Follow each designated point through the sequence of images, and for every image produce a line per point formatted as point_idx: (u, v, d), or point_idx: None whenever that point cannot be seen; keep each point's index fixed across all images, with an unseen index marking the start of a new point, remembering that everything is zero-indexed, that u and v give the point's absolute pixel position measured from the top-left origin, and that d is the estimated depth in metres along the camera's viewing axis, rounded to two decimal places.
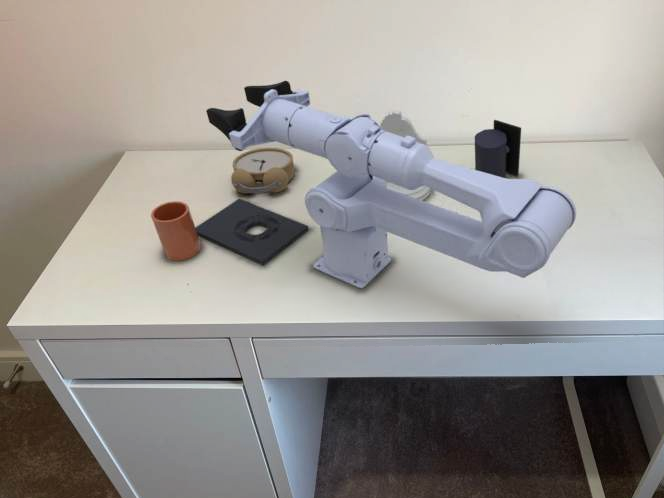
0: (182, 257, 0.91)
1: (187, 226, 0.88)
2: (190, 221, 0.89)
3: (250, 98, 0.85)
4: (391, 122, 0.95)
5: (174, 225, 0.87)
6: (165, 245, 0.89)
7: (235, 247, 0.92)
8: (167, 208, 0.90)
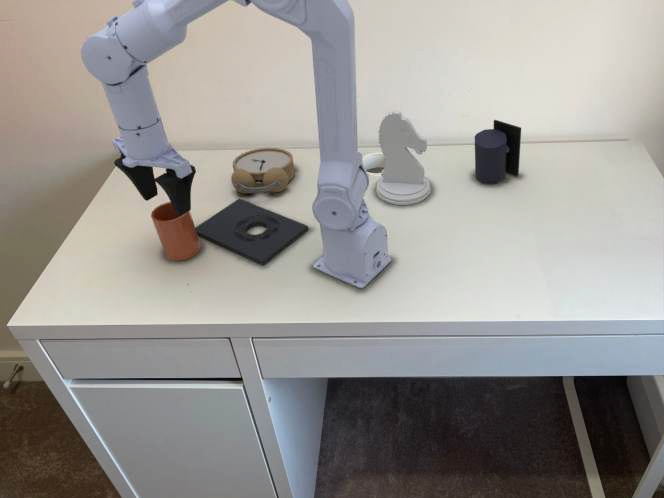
0: (182, 257, 0.91)
1: (187, 226, 0.88)
2: (190, 221, 0.89)
3: (153, 191, 0.88)
4: (391, 122, 0.95)
5: (174, 225, 0.87)
6: (165, 245, 0.89)
7: (235, 247, 0.92)
8: (167, 208, 0.90)
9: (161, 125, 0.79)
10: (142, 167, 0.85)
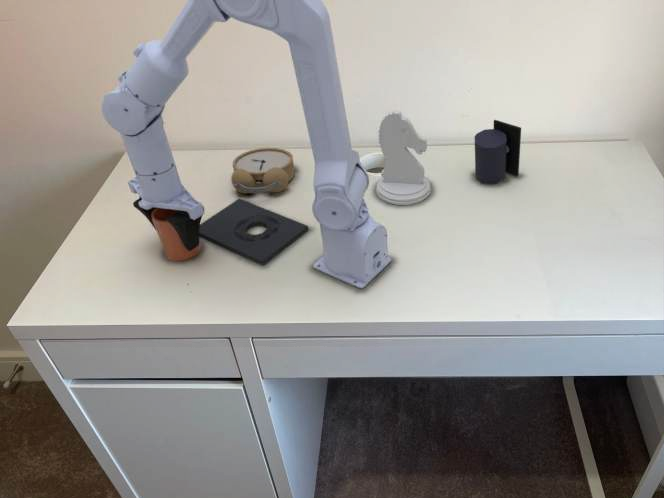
0: (182, 257, 0.91)
1: None
2: None
3: None
4: (391, 122, 0.95)
5: None
6: (165, 245, 0.89)
7: (235, 247, 0.92)
8: None
9: (175, 169, 0.83)
10: None
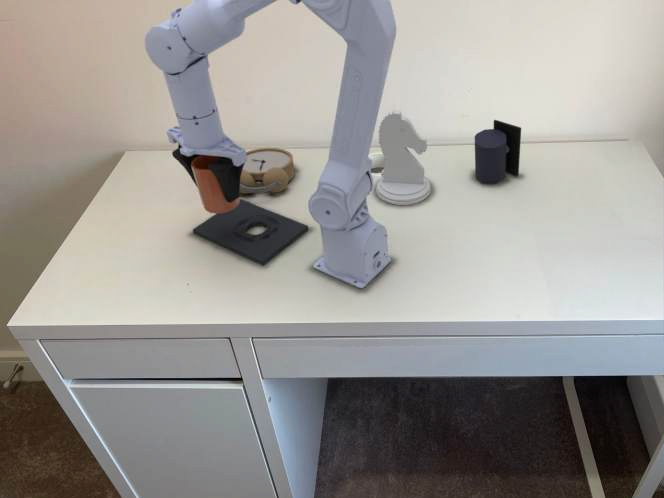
0: (222, 209, 0.88)
1: None
2: None
3: None
4: (391, 122, 0.95)
5: None
6: (205, 197, 0.86)
7: (235, 247, 0.92)
8: (206, 159, 0.87)
9: (218, 114, 0.81)
10: None
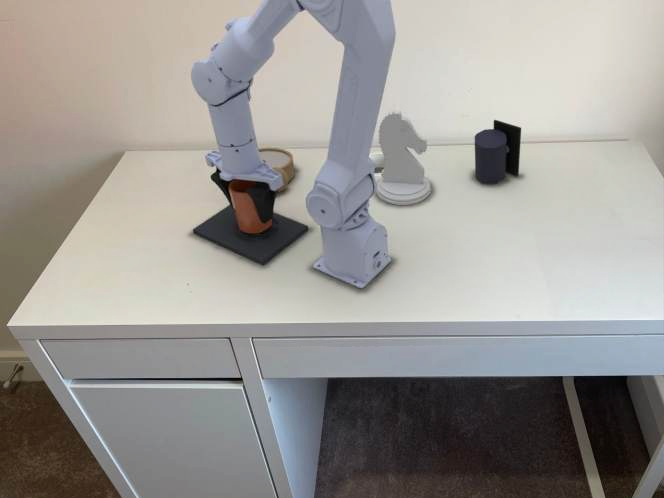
0: (257, 229, 0.92)
1: None
2: None
3: None
4: (391, 122, 0.95)
5: None
6: (241, 217, 0.91)
7: (235, 247, 0.92)
8: (242, 182, 0.92)
9: (256, 142, 0.85)
10: None
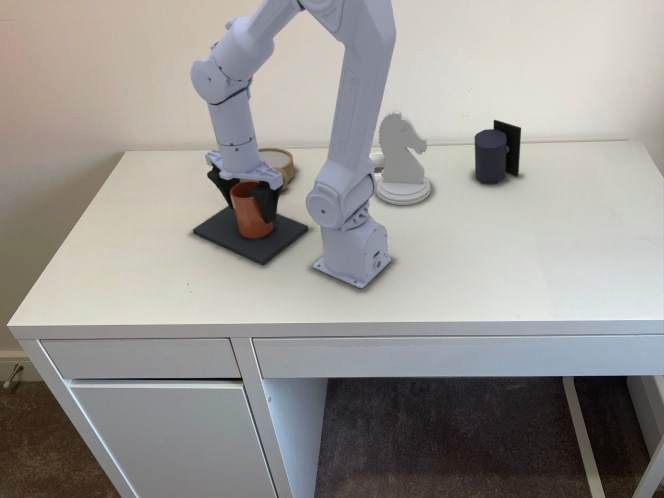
0: (258, 234, 0.93)
1: None
2: None
3: None
4: (391, 122, 0.95)
5: (253, 202, 0.89)
6: (242, 222, 0.92)
7: (235, 247, 0.92)
8: (243, 187, 0.93)
9: (256, 141, 0.85)
10: (231, 179, 0.92)
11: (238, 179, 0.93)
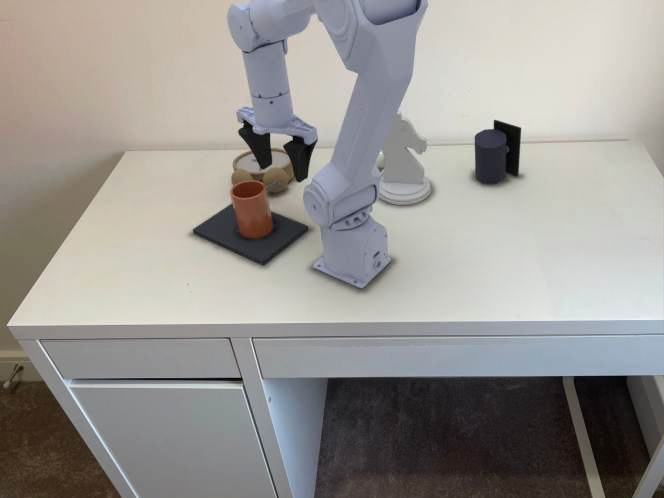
0: (258, 234, 0.93)
1: (264, 204, 0.91)
2: (267, 199, 0.91)
3: (268, 161, 0.93)
4: None
5: (253, 202, 0.89)
6: (242, 222, 0.92)
7: (235, 247, 0.92)
8: (243, 187, 0.93)
9: (290, 94, 0.83)
10: (262, 137, 0.90)
11: (269, 138, 0.91)
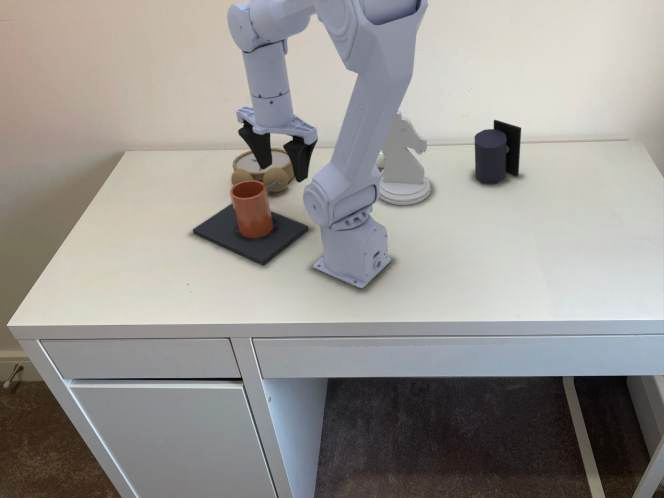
0: (258, 234, 0.93)
1: (264, 204, 0.91)
2: (267, 199, 0.91)
3: (268, 161, 0.93)
4: None
5: (253, 202, 0.89)
6: (242, 222, 0.92)
7: (235, 247, 0.92)
8: (243, 187, 0.93)
9: (290, 94, 0.83)
10: (262, 137, 0.90)
11: (269, 138, 0.91)
